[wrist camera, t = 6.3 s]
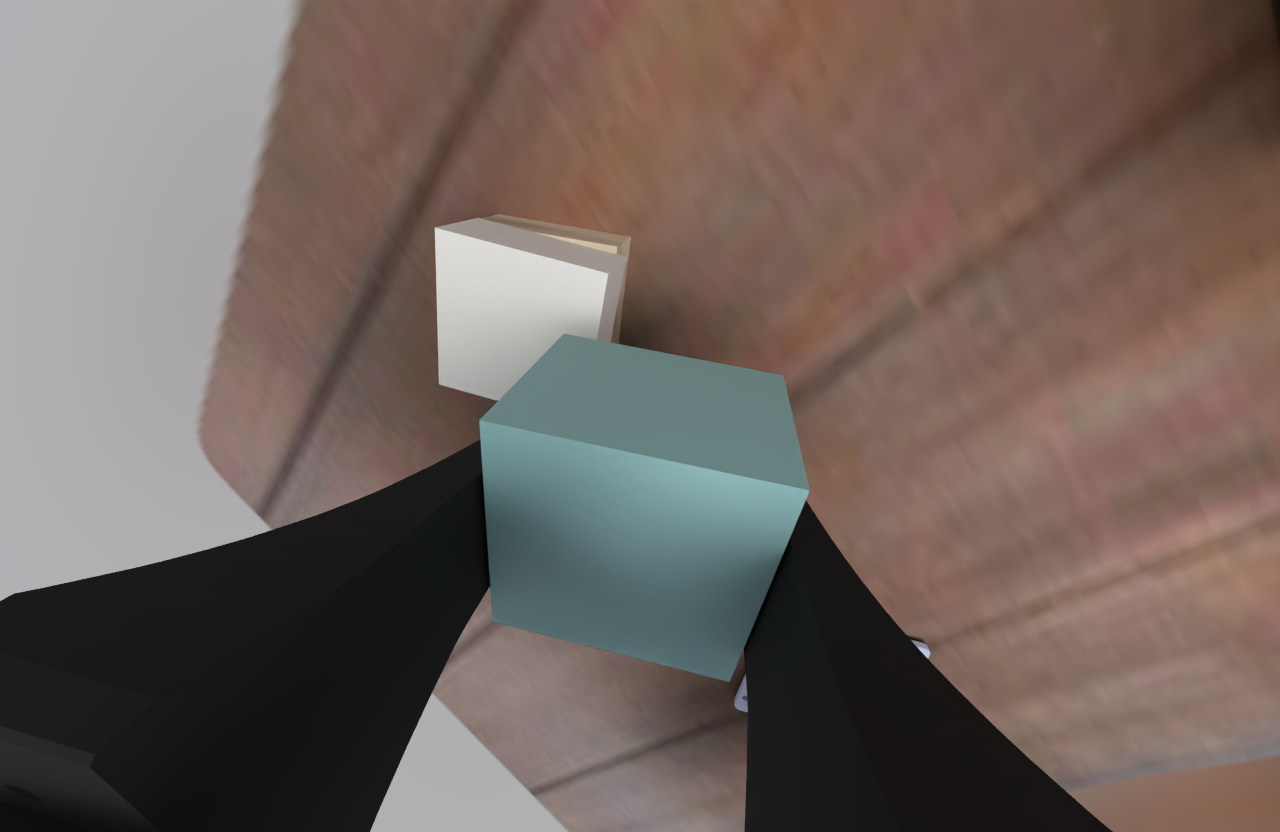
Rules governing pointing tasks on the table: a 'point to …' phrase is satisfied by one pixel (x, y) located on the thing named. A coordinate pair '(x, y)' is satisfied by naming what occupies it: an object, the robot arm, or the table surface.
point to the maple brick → (582, 237)
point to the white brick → (515, 301)
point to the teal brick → (639, 501)
